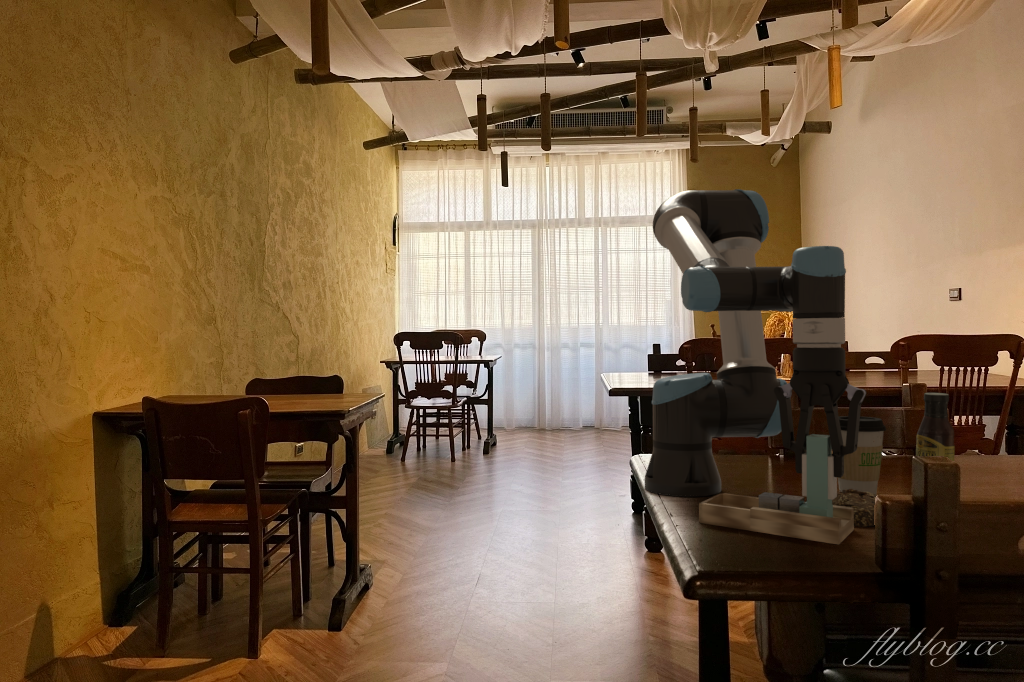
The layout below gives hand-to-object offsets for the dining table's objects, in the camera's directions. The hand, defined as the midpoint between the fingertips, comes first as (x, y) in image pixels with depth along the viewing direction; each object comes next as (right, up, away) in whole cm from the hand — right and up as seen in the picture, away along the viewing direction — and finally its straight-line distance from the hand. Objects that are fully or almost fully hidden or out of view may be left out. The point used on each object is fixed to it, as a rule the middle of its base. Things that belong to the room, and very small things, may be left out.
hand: (819, 495), depth 110 cm
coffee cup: (+18, -6, +25) cm, 31 cm away
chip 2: (-3, -2, +2) cm, 5 cm away
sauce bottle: (+32, -6, +23) cm, 40 cm away
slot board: (-5, -6, +4) cm, 9 cm away
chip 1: (-6, -2, +4) cm, 8 cm away
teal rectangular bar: (0, -4, 0) cm, 4 cm away
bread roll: (+10, -6, +10) cm, 15 cm away
